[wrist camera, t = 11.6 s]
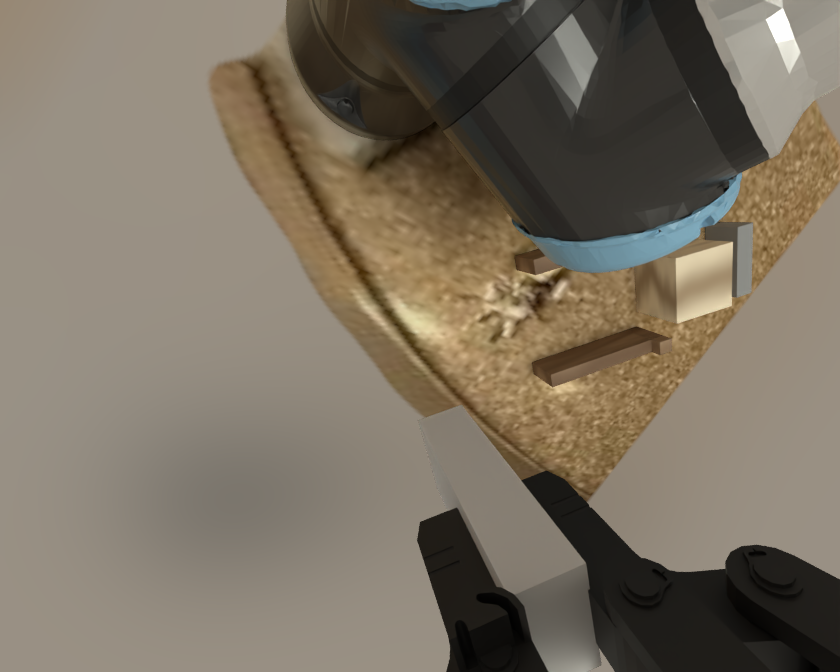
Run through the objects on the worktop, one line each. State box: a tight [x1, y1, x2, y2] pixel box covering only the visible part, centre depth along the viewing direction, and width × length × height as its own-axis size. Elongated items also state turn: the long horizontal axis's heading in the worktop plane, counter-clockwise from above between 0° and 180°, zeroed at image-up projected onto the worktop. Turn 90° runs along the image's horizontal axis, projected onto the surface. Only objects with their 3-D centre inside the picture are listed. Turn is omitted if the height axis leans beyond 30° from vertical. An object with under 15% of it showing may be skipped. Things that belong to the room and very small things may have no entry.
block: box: [634, 239, 733, 323], centre depth 46 cm, size 7×7×6 cm
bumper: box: [705, 222, 753, 297], centre depth 48 cm, size 8×2×4 cm, turn 14°
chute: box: [515, 249, 672, 387], centre depth 45 cm, size 14×14×5 cm
